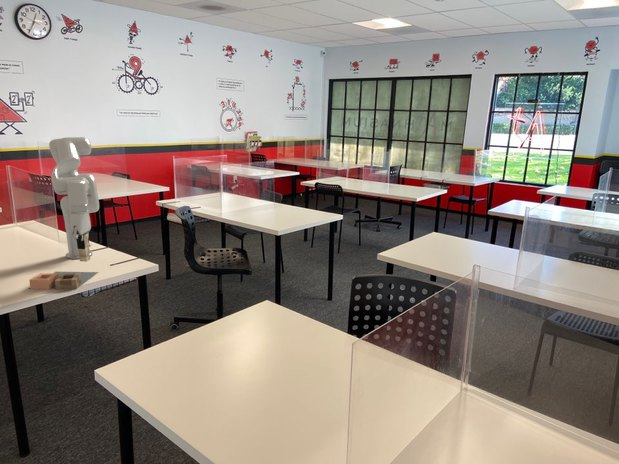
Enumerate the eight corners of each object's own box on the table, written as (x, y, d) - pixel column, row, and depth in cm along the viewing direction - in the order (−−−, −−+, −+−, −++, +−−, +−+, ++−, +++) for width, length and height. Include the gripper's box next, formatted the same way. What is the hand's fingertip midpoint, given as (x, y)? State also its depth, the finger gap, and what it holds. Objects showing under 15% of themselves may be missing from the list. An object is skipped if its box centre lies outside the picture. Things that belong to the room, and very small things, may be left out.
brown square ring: (61, 283, 194) (59, 274, 193) (81, 281, 196) (80, 273, 195) (56, 290, 187) (54, 281, 186) (77, 288, 189) (75, 279, 188)
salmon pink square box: (41, 281, 196) (40, 273, 195) (60, 282, 196) (58, 273, 195) (30, 288, 188) (29, 279, 187) (49, 289, 188) (48, 280, 187)
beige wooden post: (83, 258, 206) (79, 229, 202) (90, 259, 206) (87, 229, 202) (79, 261, 203) (76, 231, 199) (87, 261, 203) (83, 232, 199)
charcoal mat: (55, 272, 208) (55, 271, 208) (98, 273, 208) (98, 272, 208) (28, 289, 188) (28, 288, 188) (76, 290, 188) (75, 289, 188)
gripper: (79, 203, 205) (84, 241, 211) (60, 212, 190) (65, 253, 195) (96, 204, 205) (100, 242, 211) (78, 213, 190) (83, 254, 195)
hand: (83, 247), depth 203 cm, fingers closed on beige wooden post, 3 cm apart
